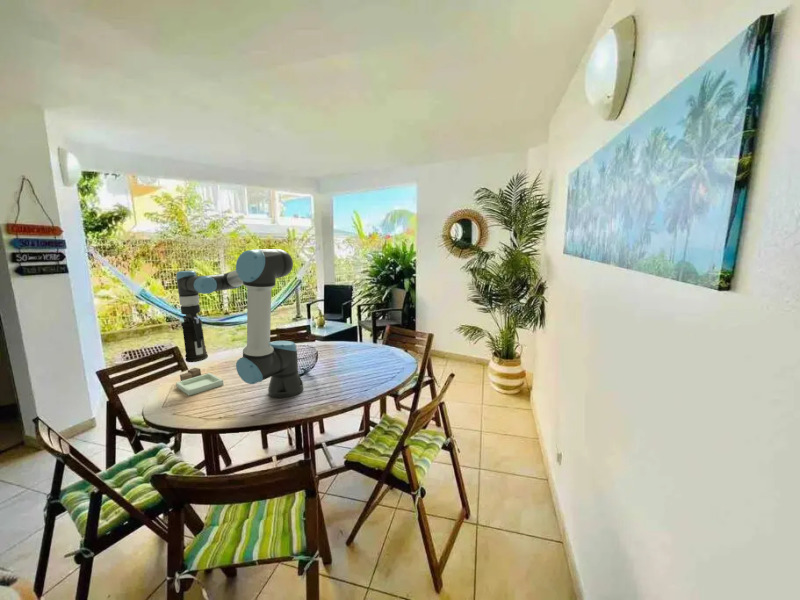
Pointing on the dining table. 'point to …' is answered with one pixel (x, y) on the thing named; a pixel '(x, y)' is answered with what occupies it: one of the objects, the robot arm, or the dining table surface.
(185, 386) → the tray
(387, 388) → the dining table surface
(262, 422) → the dining table surface
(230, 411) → the dining table surface
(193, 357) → the container
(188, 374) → the walnut block
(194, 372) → the walnut block
